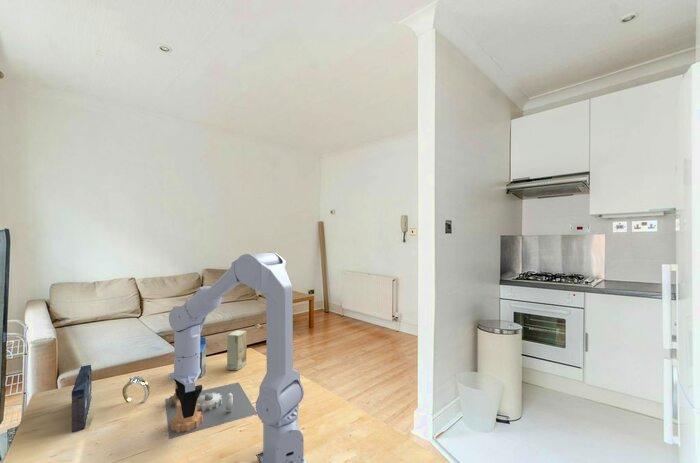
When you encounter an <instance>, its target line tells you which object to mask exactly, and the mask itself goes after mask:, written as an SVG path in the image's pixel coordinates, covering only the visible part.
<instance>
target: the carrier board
mask: <svg viewBox="0 0 700 463" xmlns="http://www.w3.org/2000/svg"><path fill="white" fill-rule="evenodd" d="M174 382H175V381H174ZM174 386H175V389H177V388H178V387H177V384H176V382H175V385H174ZM175 389H174V390H175ZM164 399H165V408H166V417H167V418H166V420H167V429H168V430H167V432H168V440H171V439H174V438H178V437H181V436H184V435H188V434H191V433H196V432H198V431H202V430H205V429H210V428H212V427H215V426H220V425H224V424H227V423H230V422H234V421H237V420H241V419H245V418H247V417H252V416H255V415H257V412H256V408H255V407H254V405H253V404H252V402H251V400H250V399H249V398H248V396H247V394H246V392H245V390H244V388H243V387H242V386H241V384H240V382H238V381H237V382H233V383H230V384H224V385H220V386H215V387H212V388H207V389H202V391H201V393H200V395H199V397H198V399H197V411H198V412H200V411H201V412H202V415H203V421H202V423H200V424H199V426H198V427H197V428H196V427H195V428H193V429H190V431H187V430H186V431H183V432H182V431H181V432H177V431H176V430H173V431H172V430H171V419H172V418H174V417H175V415H177V401H179V398H178V397H177V395H176V392H174V393H173V395H170V397H168V398H164Z"/></svg>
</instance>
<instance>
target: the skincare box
mask: <svg viewBox="0 0 700 463" xmlns="http://www.w3.org/2000/svg"><path fill="white" fill-rule="evenodd" d="M247 333H248V332H247V330H235V331H232V332H231V333H229V334H227V339H226V340H227V344H226V345H227V349H226V352H227V354H226V360H227V361H226V362H227V363H226V370H230V371H239V370H240V369H241V368H243V367H245V366H246V365H247V345H248V344H247V341H248V340H247V338H248V337H247V336H248V334H247Z"/></svg>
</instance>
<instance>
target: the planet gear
mask: <svg viewBox="0 0 700 463" xmlns="http://www.w3.org/2000/svg"><path fill="white" fill-rule="evenodd" d="M202 421H203V415H202V412H201V411H200V412H198V411H197V403H196V407H195V412H194V415H193V416H192V417H188V418H184V417H183V414H182V408H181V403H180V400H179V401H177V415H175V417H174V418H172V419H171V430H172V431H173V430H176V431H177V432H181V431H182V432H183V431H186V430H187V431H190V429H193V428H195V427H196V428H197V427H198V426H199V424H200V423H202Z"/></svg>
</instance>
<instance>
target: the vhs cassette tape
mask: <svg viewBox="0 0 700 463" xmlns="http://www.w3.org/2000/svg"><path fill="white" fill-rule="evenodd" d="M92 371H93V370H92V365H91V364H88V365H87V364H86V365H82V366H80V369H79V371H78V374H77V376H76V379H75V382H74V386H73V389H71V433H76V432H79V431H82V430H85V429H86V424H87V421H86V420H88V416H87V415H89V412H88V411H90V407H91V403H90V402H92Z"/></svg>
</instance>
